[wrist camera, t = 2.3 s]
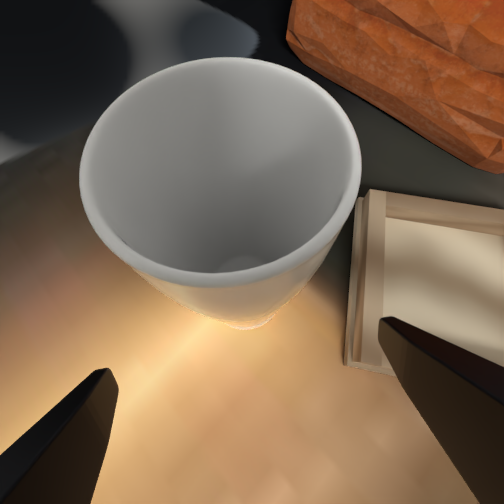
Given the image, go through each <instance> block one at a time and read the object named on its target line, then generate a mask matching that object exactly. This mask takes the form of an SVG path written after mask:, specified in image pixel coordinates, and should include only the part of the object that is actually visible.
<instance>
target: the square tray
mask: <svg viewBox="0 0 504 504" xmlns="http://www.w3.org/2000/svg"><path fill="white" fill-rule="evenodd" d="M388 316H393V317H396V318H398V319H400V320H402V321H405V322H407V323H409V324H411V325H413V326H415V327H418V328H420V329H422V330H424V331H426V332H429V333H431V334H433V335H435V336H437V337H440V338H442V339H444V340H446V341H448V342H450V343H453V344H455V345H457V346H459V347H461V348H464V349H466V350H468V351H470V352H472V353H474V354H477V355H479V356H481V357H483V358H485V359H488V360H490V361H492V362H494V363H496V364H499V365H501V366H503V367H504V210H502V209H495V208H489V207H482V206H476V205H470V204H463V203H457V202H450V201H444V200H437V199H431V198H424V197H418V196H411V195H405V194H398V193H392V192H386V191H379V190H373V189H370V190H369V191H368V193H367V194H366V196H365V197H364V198H363V197H359V198H358V199H357V201H356V204H355V217H354V231H353V244H352V258H351V271H350V285H349V299H348V312H347V326H346V339H345V353H344V366H349V367H354V368H358V369H363V370H368V371H372V372H377V373H382V374H386V375H391V376H396V374H395V373H394V371H393V369H392V367H391V365H390V363H389V361H388V359H387V357H386V356H385V354H384V352H383V350H382V348H381V346H380V344H379V342H378V324H379V319H380V318H382V317H388ZM396 377H397V376H396Z"/></svg>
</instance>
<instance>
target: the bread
mask: <svg viewBox="0 0 504 504" xmlns="http://www.w3.org/2000/svg"><path fill="white" fill-rule="evenodd" d="M286 40H287V42H288V45H289V47H290V48H291V50H292V51H293V52H294V53H295V54H296V55H297V57H298V58H299V59H300V60H301V61H302V62H303V64H305V65H307V66H308V67H310V68H312V69H313V70H315V71H316V72H318V73H320V74H321V75H323V76H324V77H326V78H328V79H329V80H331V81H333V82H335V83H336V84H338V85H340V86H342V87H344V88H345V89H347V90H349V91H351V92H353V93H355V94H356V95H358V96H360V97H361V98H363V99H365V100H366V101H368V102H370V103H371V104H373V105H375V106H376V107H378V108H380V109H381V110H383V111H385V112H386V113H388V114H390V115H391V116H393V117H394V118H396V119H398V120H399V121H400V122H402V123H403V124H405V125H406V126H408V127H409V128H411V129H412V130H414V131H415V132H417V133H418V134H420V135H421V136H423V137H424V138H426V139H427V140H429V141H430V142H432V143H433V144H435V145H437V146H438V147H440V148H442V149H443V150H445V151H447V152H449V153H450V154H452V155H454V156H455V157H457V158H459V159H460V160H462V161H464V162H465V163H467V164H469V165H470V166H472V167H475V168H478V169H481V170H485V171H488V172H491V173H494V174H499V173H504V0H293V1H292V5H291V9H290V14H289V21H288V28H287V35H286Z"/></svg>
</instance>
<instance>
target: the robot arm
mask: <svg viewBox="0 0 504 504" xmlns="http://www.w3.org/2000/svg"><path fill="white" fill-rule="evenodd" d="M378 342H379V344H380V346H381V348H382V350H383V352H384V354H385V356H386V357H387V359H388V361H389V363H390V365H391V367H392V369H393V371H394V373H395V374H396V376H397V378H398V380H399V382H400V384H401V385H402V387H403V389H404V390H405V392H406V393H407V395H408V396H409V398H410V399H411V401H412V402H413V404H414V405H415V407H416V408H417V410H418V411H419V413H420V414H421V416H422V417H423V419H424V420H425V422H426V423H427V425H428V426H429V428H430V429H431V431H432V433H433V434H434V436H435V437H436V439H437V440H438V442H439V443H440V445H441V446H442V448H443V449H444V451H445V452H446V454H447V455H448V457H449V458H450V460H451V461H452V463H453V464H454V466H455V467H456V469H457V470H458V472H459V473H460V475H461V476H462V478H463V479H464V481H465V482H466V484H467V485H468V487H469V488H470V490H471V491H472V493H473V494H474V496H475V497H476V499H477V500H478V502H479V503H480V504H504V367H503V366H501V365H499V364H496V363H494V362H492V361H490V360H488V359H485V358H483V357H481V356H479V355H477V354H474V353H472V352H470V351H468V350H466V349H464V348H461V347H459V346H457V345H455V344H453V343H450V342H448V341H446V340H444V339H442V338H440V337H437V336H435V335H433V334H431V333H429V332H426V331H424V330H422V329H420V328H418V327H415V326H413V325H411V324H409V323H407V322H405V321H402V320H400V319H398V318H396V317H393V316H388V317H382V318H380V319H379V324H378ZM118 392H119V389H118V384H117V382H116V380H115V378H114V376H113V374H112V371H111V370H110V369H109V368H103V369H97V370H95V371H93V372H92V373H91V374H90V375H89V376H88V377H87V378H86V379H84V380H83V381H82V382H81V383H80V384H79V385H78V386H77V387H76V388H74V389H73V390H72V391H71V392H70V393H69V394H68V395H67V396H65V397H64V398H63V399H62V400H61V401H60V402H59V403H58V404H57V405H55V406H54V407H53V408H52V409H51V410H50V411H49V412H48V413H47V414H45V415H44V416H43V417H42V418H41V419H40V420H39V421H38V422H37V423H35V424H34V425H33V426H32V427H31V428H30V429H29V430H28V431H27V432H25V433H24V434H23V435H22V436H21V437H20V438H19V439H18V440H17V441H15V442H14V443H13V444H12V445H11V446H10V447H9V448H8V449H7V450H5V451H4V452H3V453H2V454H1V455H0V504H90V503H91V500H92V497H93V493H94V490H95V487H96V483H97V480H98V477H99V473H100V470H101V467H102V463H103V460H104V457H105V453H106V450H107V446H108V442H109V438H110V433H111V428H112V423H113V418H114V413H115V408H116V403H117V398H118Z"/></svg>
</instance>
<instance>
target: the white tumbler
mask: <svg viewBox="0 0 504 504" xmlns="http://www.w3.org/2000/svg"><path fill="white" fill-rule="evenodd" d="M361 172H362V161H361V152H360V146H359V142H358V139H357V136H356V133H355V130H354V128H353V126H352V124H351V122H350V120H349V118H348V116H347V115H346V113H345V112H344V111H343V109H342V108H341V106H340V105H339V104H338V103H337V102H336V101H335V99H334V98H333V97H332V96H331V95H330V94H328V93H327V92H326V91H325V90H324V89H323V88H321V87H320V86H319V85H318V84H316V83H315V82H313V81H312V80H310V79H309V78H307V77H305V76H303V75H301V74H300V73H297V72H295V71H293V70H291V69H288V68H286V67H283V66H280V65H277V64H274V63H270V62H266V61H261V60H256V59H249V58H238V57H219V58H208V59H200V60H195V61H190V62H186V63H182V64H178V65H175V66H172V67H169V68H166V69H164V70H162V71H159V72H157V73H155V74H153V75H151V76H149V77H147V78H145V79H143V80H142V81H140V82H138V83H137V84H135V85H134V86H132V87H131V88H129V89H128V90H127V91H125V92H124V93H123V94H122V95H120V96H119V97H118V98H117V99H116V100H115V101H114V102H113V103H112V104H111V105H110V106H109V107H108V109H106V111H105V112H104V113H103V114H102V116H101V117H100V118H99V120H98V121H97V123H96V124H95V126H94V128H93V129H92V131H91V133H90V135H89V137H88V139H87V142H86V144H85V147H84V150H83V154H82V158H81V163H80V172H79V187H80V194H81V200H82V203H83V206H84V210H85V212H86V215H87V217H88V219H89V222H90V224H91V225H92V227H93V228H94V230H95V232H96V233H97V235H98V236H99V237H100V239H101V240H102V241H103V243H104V244H105V245H106V246H107V247H108V248H109V249H110V250H111V251H112V252H113V253H114V254H115V255H116V256H118V257H119V258H120V259H121V260H123V261H124V262H125V263H126V264H127V265H128V266H129V267H130V268H131V269H132V270H133V271H135V272H136V273H137V274H138V275H139V276H140V277H142V278H143V279H144V280H145V281H146V282H148V283H149V284H150V285H151V286H153V287H154V288H155V289H157V290H158V291H159V292H161V293H162V294H163V295H165V296H166V297H168V298H169V299H171V300H172V301H174V302H176V303H177V304H179V305H181V306H182V307H184V308H186V309H188V310H190V311H192V312H194V313H197V314H199V315H202V316H205V317H208V318H210V319H214V320H217V321H220V322H223V323H224V324H226V325H228V326H230V327H232V328H235V329H241V330H249V329H254V328H258V327H260V326H262V325H264V324H265V323H267V322H268V321H270V320H271V319H272V318H273V316H274V315H275V314H276V312H277V311H278V310H280V309H281V308H282V307H284V306H285V305H286V304H287V303H289V302H290V301H291V300H292V299H293V298H294V297H295V296H296V295H297V294H298V293H299V292H300V291H301V290H302V289H303V288H304V287H305V286H306V285H307V284H308V282H309V281H310V280H311V279H312V277H313V276H314V275H315V273H316V272H317V271H318V269H319V268H320V266H321V265H322V263H323V262H324V260H325V258H326V257H327V255H328V254H329V252H330V250H331V248H332V246H333V245H334V243H335V241H336V239H337V237H338V235H339V233H340V231H341V229H342V227H343V225H344V223H345V221H346V220H347V218H348V216H349V214H350V212H351V210H352V208H353V206H354V203H355V201H356V198H357V195H358V191H359V186H360V181H361Z"/></svg>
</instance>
